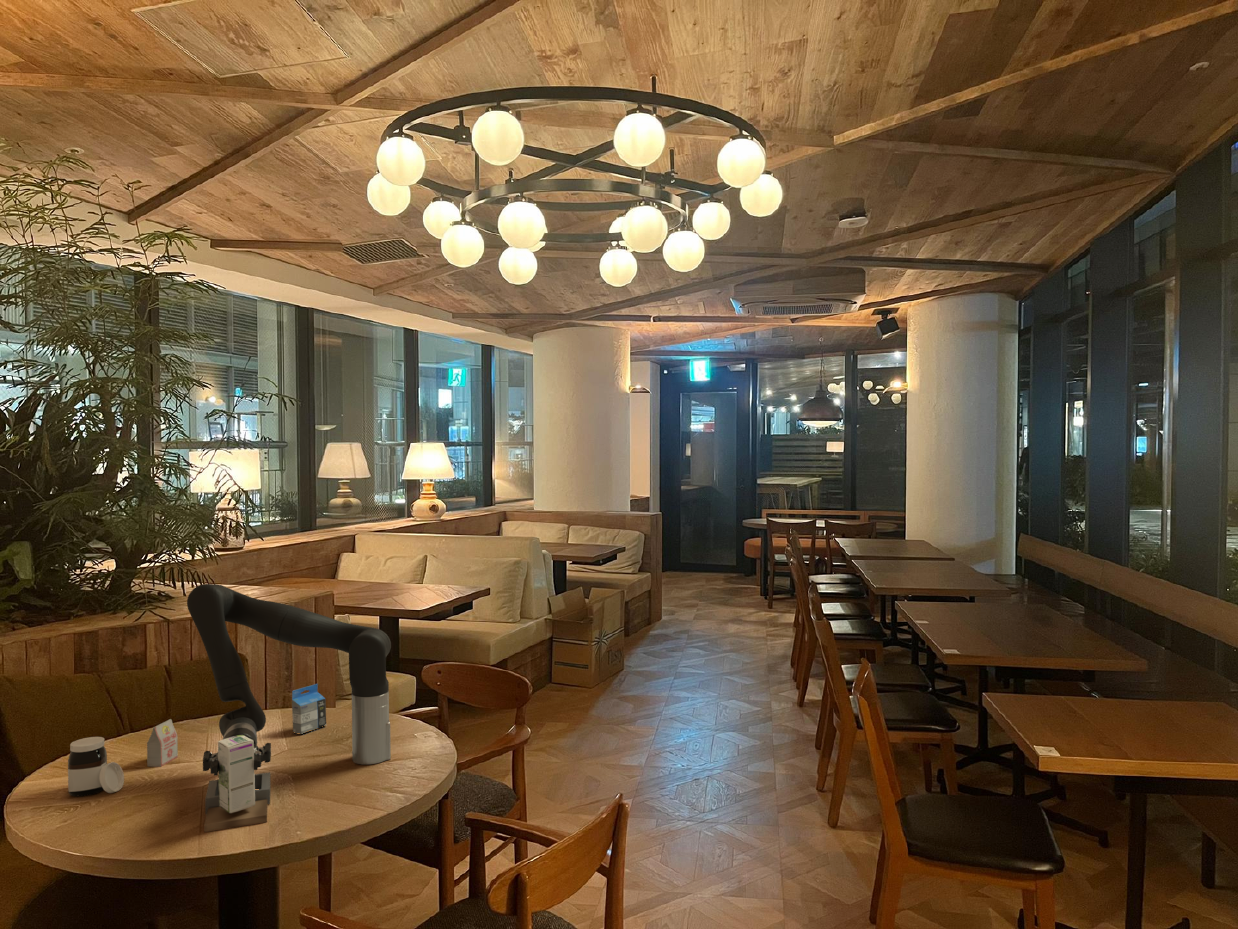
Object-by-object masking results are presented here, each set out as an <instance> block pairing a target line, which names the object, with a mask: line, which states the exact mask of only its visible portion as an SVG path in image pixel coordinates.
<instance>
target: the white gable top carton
mask: <svg viewBox="0 0 1238 929" xmlns="http://www.w3.org/2000/svg"><path fill="white" fill-rule="evenodd" d="M146 751H147V753H146V757H147V758H146V762H147V767H152V768H153V767H156V768H158V767H159V768H160V767H163V766H164V765H167V764H169V763H170V762H171V761H173V760H176V759H177V758H178V756H179V755H178V733H177V731H176V729H175V726H174V724H173V720H172V719H171V718H170V719H168V720H166V721H163V722H162V723H160V724H157V725H156V726H153V728H152V731H151V735H150V736H149V739H148V740H147V742H146Z"/></svg>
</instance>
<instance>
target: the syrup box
mask: <svg viewBox="0 0 1238 929" xmlns="http://www.w3.org/2000/svg"><path fill="white" fill-rule="evenodd" d="M217 752H218V775H217V776H218V780H219V806H220V807H221V808H223V809H224V810H226V811H227V812H229V813H233V812H237V811H240V810H243V809H246V808H249V807H252V806H255V770H254V741H253V740H251V739H250V738H248V737H246V736H244V735H238V736H233V737H229V738H226V739H223V738H222V739H221V740H218V741H217Z"/></svg>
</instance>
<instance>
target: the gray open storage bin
mask: <svg viewBox="0 0 1238 929" xmlns="http://www.w3.org/2000/svg"><path fill="white" fill-rule="evenodd" d="M254 774H255V773H254ZM255 789H259V790H255V801H259V800H265V799H267V804H270V805H271V772H270V771H268V772H262V773H261V772H260V773H256V774H255ZM204 801H205V805H204V806H205V815H207V810H208V808H213V807H220V806H219V779H214V780H213V779H212V780H209V782H208V786H207V790H206V794H205V800H204Z"/></svg>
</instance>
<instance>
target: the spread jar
mask: <svg viewBox="0 0 1238 929" xmlns="http://www.w3.org/2000/svg"><path fill="white" fill-rule="evenodd" d="M69 746H70V749H69V751H70V753H69V755H68V759H67V776H68V777H67V790H68V795H69V796H72V797H85V796H92V795H95V793H96V794H98V793H100V791H101V792H102V791H105V792H106V793H108V794H113V793H115V792H119V791H120V790H121V789H122V788H123V787H124V784H125V775H124V774H125V773H124V771H123V768H122V767H121V765H120V764H119V763H118V762H115V761H111V762H108V757H107V756H108V755H107V754H108V753H107V748H106V747H105V738H104V737H102V736H90V737H84V738H80V739H77V740H74V741H72V742H71V743H70V744H69Z"/></svg>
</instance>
